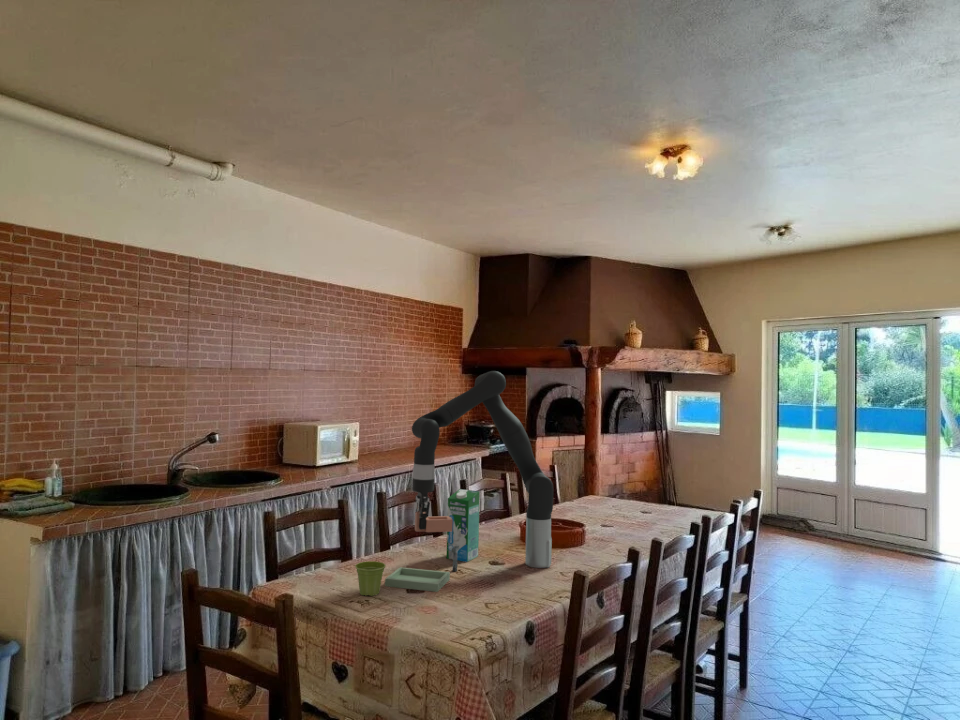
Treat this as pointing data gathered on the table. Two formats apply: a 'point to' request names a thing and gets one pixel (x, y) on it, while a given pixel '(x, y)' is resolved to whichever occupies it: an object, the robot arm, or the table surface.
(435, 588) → the tray
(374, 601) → the table surface
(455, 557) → the hammer
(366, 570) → the plant pot
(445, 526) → the collar
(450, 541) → the milk carton
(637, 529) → the table surface
